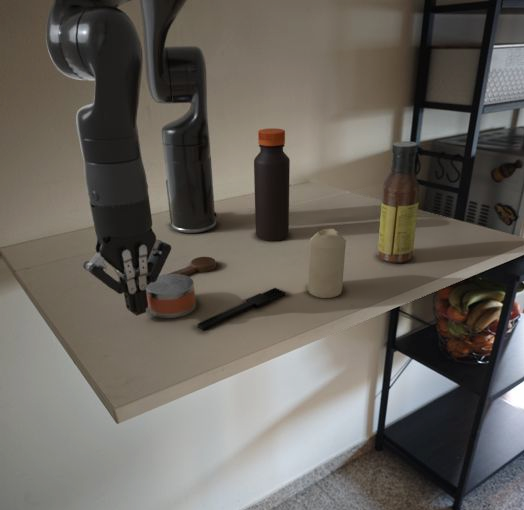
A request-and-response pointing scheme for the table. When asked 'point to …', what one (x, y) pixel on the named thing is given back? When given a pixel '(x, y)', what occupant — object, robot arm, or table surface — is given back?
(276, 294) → the fork
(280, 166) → the vinegar
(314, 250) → the candle
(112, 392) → the table surface
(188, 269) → the spoon
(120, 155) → the robot arm
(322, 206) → the table surface
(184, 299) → the tin can
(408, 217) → the sauce bottle
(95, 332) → the table surface
